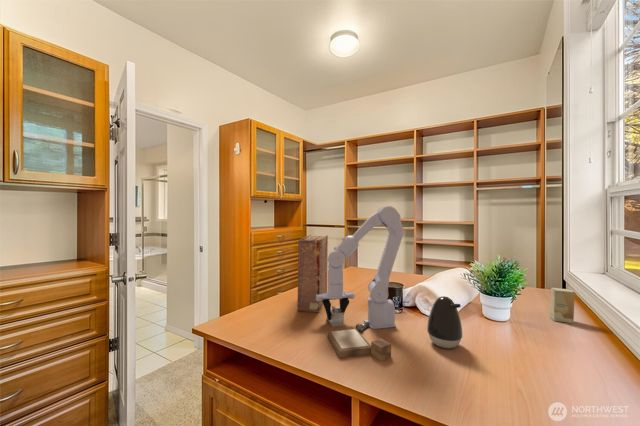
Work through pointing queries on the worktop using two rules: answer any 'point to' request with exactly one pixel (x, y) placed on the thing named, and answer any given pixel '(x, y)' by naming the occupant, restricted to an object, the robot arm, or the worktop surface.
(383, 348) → the walnut block
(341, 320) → the housing
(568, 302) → the skincare box
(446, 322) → the pump dispenser
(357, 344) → the stand
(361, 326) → the loose bolt
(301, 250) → the book
